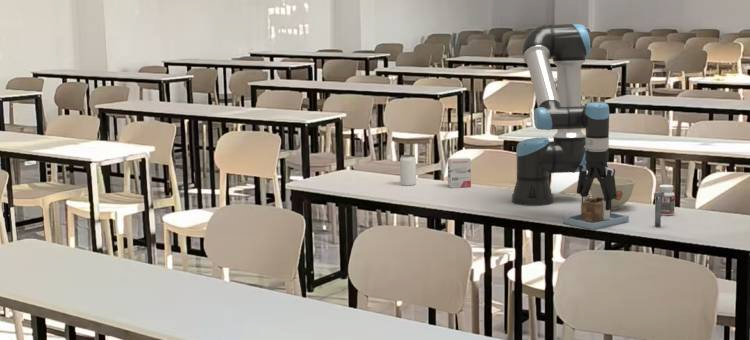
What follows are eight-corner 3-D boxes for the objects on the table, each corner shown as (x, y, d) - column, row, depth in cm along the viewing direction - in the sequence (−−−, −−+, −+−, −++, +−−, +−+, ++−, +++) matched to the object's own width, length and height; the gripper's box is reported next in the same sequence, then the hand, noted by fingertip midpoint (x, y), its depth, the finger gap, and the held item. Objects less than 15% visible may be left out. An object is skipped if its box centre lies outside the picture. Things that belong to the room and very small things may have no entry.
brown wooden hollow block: (593, 214, 345) (593, 196, 343) (611, 215, 341) (611, 198, 340) (579, 221, 335) (579, 203, 334) (597, 223, 331) (597, 205, 330)
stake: (652, 226, 331) (653, 193, 329) (660, 224, 333) (660, 191, 332) (656, 227, 330) (657, 193, 328) (664, 225, 332) (665, 192, 330)
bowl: (634, 204, 366) (634, 177, 365) (634, 213, 351) (634, 185, 349) (588, 203, 370) (589, 176, 369) (587, 212, 355) (587, 184, 353)
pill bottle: (674, 216, 346) (675, 187, 344) (657, 215, 347) (658, 187, 345) (673, 212, 351) (674, 184, 350) (656, 212, 352) (657, 184, 351)
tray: (563, 223, 339) (563, 217, 338) (599, 215, 349) (599, 210, 349) (592, 230, 328) (592, 224, 328) (628, 221, 339) (628, 216, 338)
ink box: (468, 185, 411) (467, 156, 409) (471, 187, 406) (470, 158, 404) (447, 186, 410) (447, 157, 408) (450, 188, 405) (450, 159, 403)
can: (416, 185, 412) (415, 156, 410) (400, 186, 412) (399, 157, 410) (415, 182, 418) (415, 154, 416) (400, 183, 418) (399, 154, 416)
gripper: (565, 147, 341) (565, 214, 344) (613, 154, 324) (612, 224, 328) (581, 145, 345) (580, 211, 349) (629, 152, 328) (628, 220, 332)
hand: (596, 217), depth 338 cm, fingers closed on brown wooden hollow block, 8 cm apart
